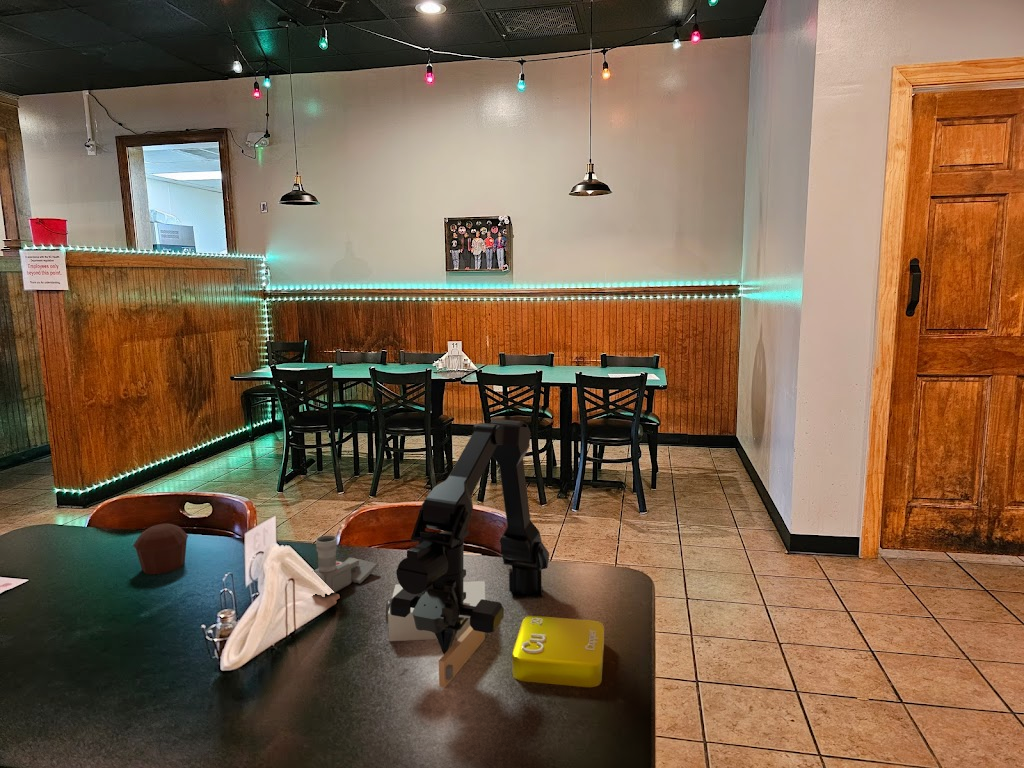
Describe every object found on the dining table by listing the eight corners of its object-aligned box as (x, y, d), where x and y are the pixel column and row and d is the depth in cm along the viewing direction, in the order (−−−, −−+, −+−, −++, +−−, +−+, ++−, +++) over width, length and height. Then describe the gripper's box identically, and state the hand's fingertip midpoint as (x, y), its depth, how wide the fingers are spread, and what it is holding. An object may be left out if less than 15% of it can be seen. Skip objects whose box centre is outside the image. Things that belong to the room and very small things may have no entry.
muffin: (158, 555, 162) (155, 517, 160) (200, 557, 160) (196, 518, 159) (124, 576, 150) (120, 535, 149) (168, 579, 149) (164, 537, 147)
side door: (482, 635, 122) (481, 612, 121) (491, 637, 121) (490, 614, 120) (439, 686, 106) (438, 660, 105) (449, 688, 105) (448, 663, 105)
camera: (300, 540, 140) (348, 519, 153) (302, 592, 141) (350, 567, 154) (330, 547, 136) (377, 525, 149) (332, 601, 137) (379, 574, 150)
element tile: (601, 690, 106) (601, 663, 105) (510, 682, 109) (509, 655, 108) (604, 642, 121) (604, 617, 120) (524, 635, 123) (523, 611, 123)
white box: (485, 606, 134) (484, 579, 133) (486, 637, 122) (485, 608, 121) (391, 610, 133) (390, 583, 132) (383, 641, 121) (382, 612, 120)
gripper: (372, 580, 104) (374, 670, 107) (481, 599, 99) (481, 694, 101) (404, 553, 115) (405, 636, 117) (505, 569, 109) (504, 655, 111)
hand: (446, 655), depth 111 cm, fingers closed
